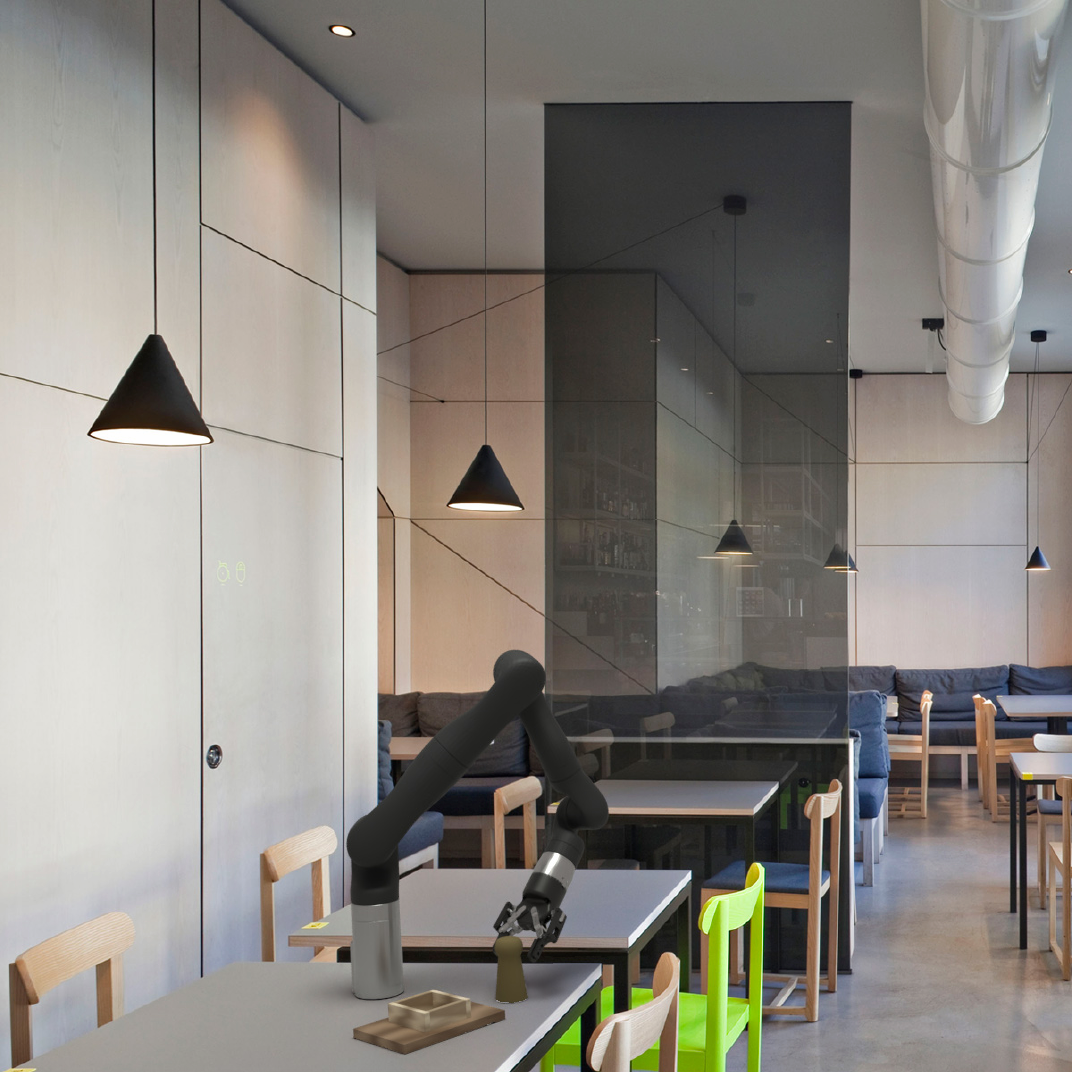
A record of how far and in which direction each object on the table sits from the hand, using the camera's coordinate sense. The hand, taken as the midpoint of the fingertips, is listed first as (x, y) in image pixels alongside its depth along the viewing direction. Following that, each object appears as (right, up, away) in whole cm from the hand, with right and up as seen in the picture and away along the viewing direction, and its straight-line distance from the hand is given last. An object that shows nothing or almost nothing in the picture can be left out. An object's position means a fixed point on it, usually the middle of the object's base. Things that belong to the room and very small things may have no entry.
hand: (513, 957), depth 225 cm
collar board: (-14, -7, -16) cm, 22 cm away
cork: (0, -7, -1) cm, 7 cm away
